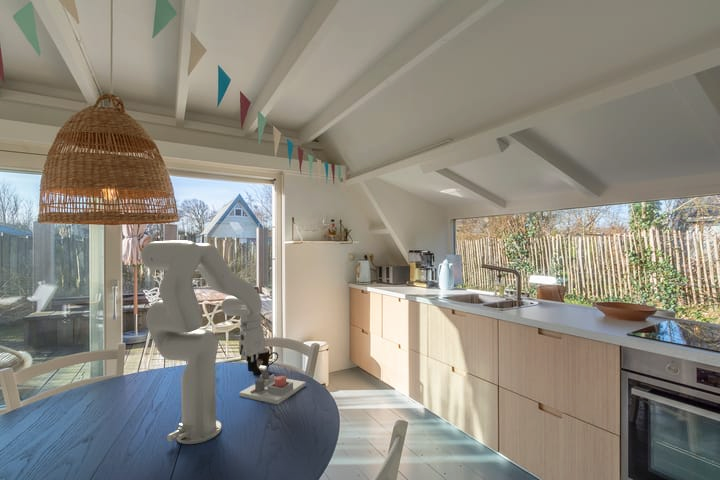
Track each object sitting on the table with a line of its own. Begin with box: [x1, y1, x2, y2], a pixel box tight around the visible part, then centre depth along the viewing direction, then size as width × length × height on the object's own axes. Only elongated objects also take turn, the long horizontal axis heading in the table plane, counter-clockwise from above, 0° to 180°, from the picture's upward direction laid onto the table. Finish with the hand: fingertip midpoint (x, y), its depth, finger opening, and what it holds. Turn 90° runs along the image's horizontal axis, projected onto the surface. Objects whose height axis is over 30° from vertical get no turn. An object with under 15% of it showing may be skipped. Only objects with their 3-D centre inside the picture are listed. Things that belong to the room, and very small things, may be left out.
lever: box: [259, 365, 271, 380], centre depth 143 cm, size 1×3×7 cm, turn 66°
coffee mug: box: [252, 347, 279, 376], centre depth 158 cm, size 12×9×10 cm
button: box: [274, 375, 287, 388], centre depth 134 cm, size 4×4×4 cm
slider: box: [254, 378, 265, 392], centre depth 134 cm, size 2×2×4 cm
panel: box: [238, 373, 306, 405], centre depth 138 cm, size 18×18×4 cm
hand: (252, 370), depth 137 cm, fingers closed
